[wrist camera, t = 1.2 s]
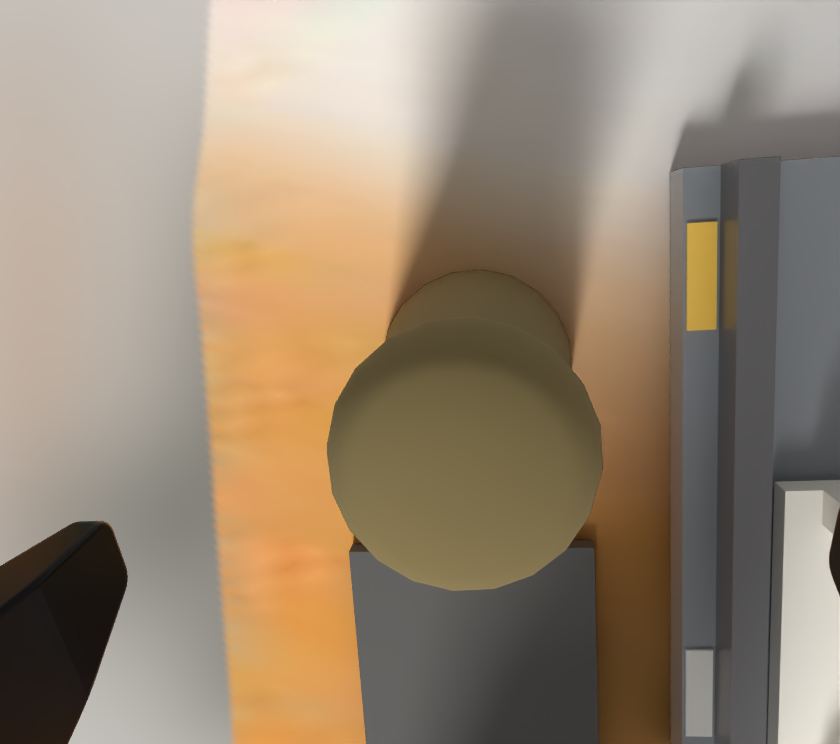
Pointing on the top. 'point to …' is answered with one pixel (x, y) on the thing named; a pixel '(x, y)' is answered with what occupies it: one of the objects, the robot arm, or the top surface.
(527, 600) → the rubber pad
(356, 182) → the top surface
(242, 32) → the top surface
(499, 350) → the cork
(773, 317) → the grey slide rail tray
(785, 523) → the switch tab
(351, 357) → the top surface
